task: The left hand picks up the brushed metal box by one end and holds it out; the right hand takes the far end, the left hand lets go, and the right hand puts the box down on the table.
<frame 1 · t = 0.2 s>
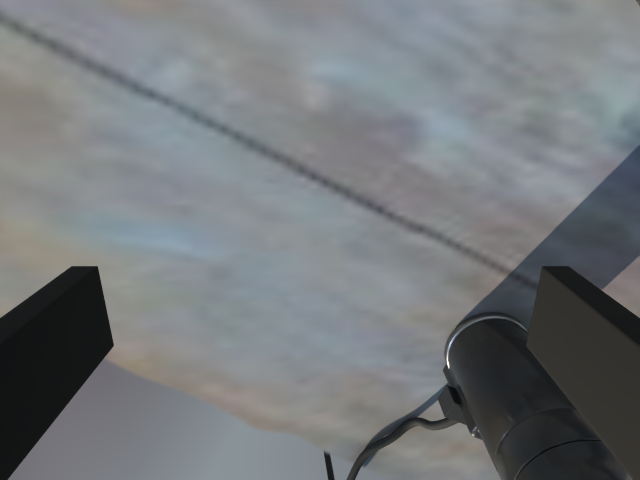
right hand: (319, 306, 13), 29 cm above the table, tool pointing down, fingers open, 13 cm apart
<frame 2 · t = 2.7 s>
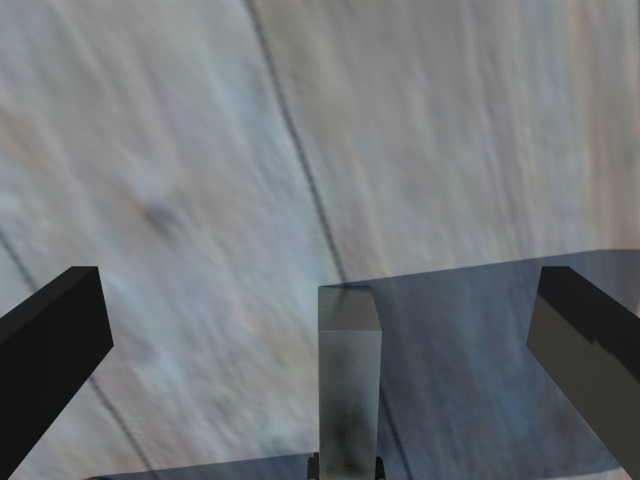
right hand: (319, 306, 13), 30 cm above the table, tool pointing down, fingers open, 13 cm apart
box: (343, 374, 50), on the table, touching left hand
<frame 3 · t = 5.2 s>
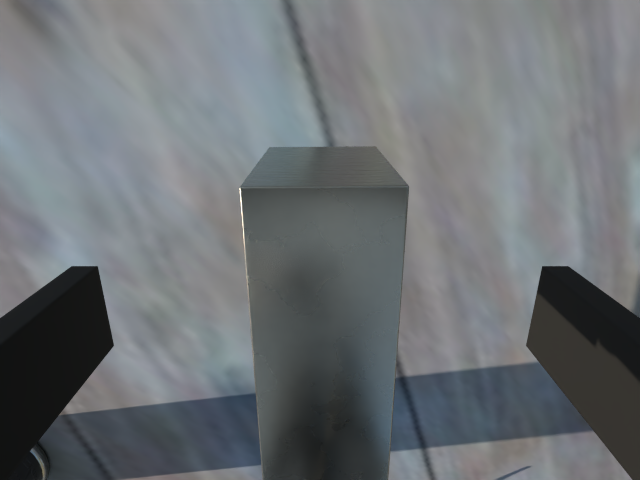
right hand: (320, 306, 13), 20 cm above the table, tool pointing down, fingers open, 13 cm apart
box: (323, 331, 27), point 9 cm above the table, touching left hand
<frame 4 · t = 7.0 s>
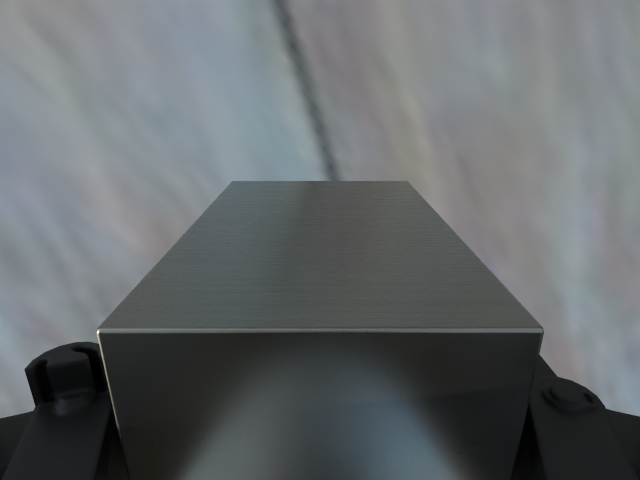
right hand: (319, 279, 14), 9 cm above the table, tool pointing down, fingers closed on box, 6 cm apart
box: (320, 450, 18), point 9 cm above the table, touching right hand, left hand
when the left hand's fingers open (13 cm above the table, at t = 8.0 s): box moves 1 cm, held by the right hand.
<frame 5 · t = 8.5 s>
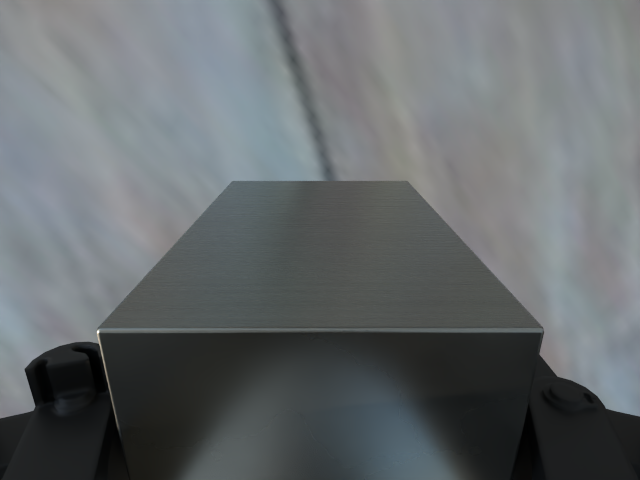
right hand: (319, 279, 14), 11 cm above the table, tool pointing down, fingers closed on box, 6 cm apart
box: (320, 450, 18), point 10 cm above the table, touching right hand
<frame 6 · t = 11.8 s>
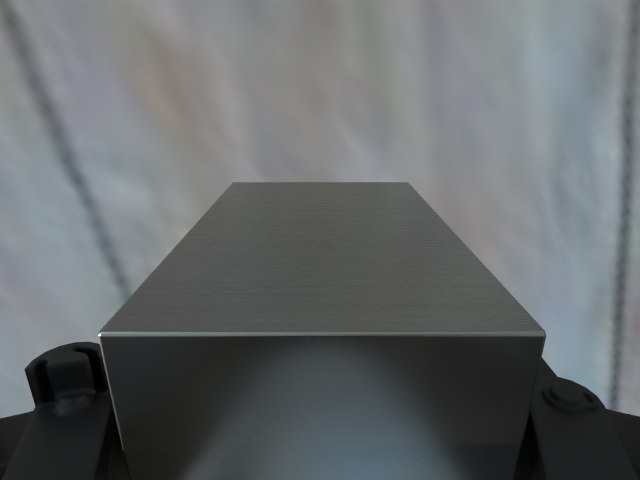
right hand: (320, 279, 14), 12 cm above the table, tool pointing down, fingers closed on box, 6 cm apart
box: (320, 452, 18), point 12 cm above the table, touching right hand
when the right hand's fingers open (2 cm above the table, at t = 16.9 s): box drops 1 cm, on the table.
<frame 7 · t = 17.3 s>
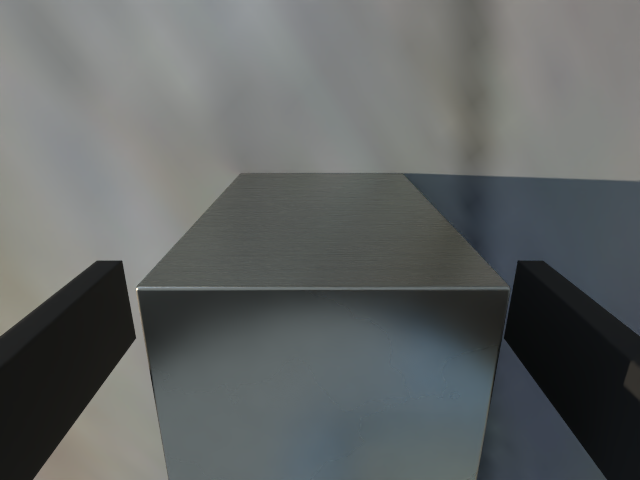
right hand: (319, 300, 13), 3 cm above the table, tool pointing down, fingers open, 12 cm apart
box: (321, 430, 19), on the table
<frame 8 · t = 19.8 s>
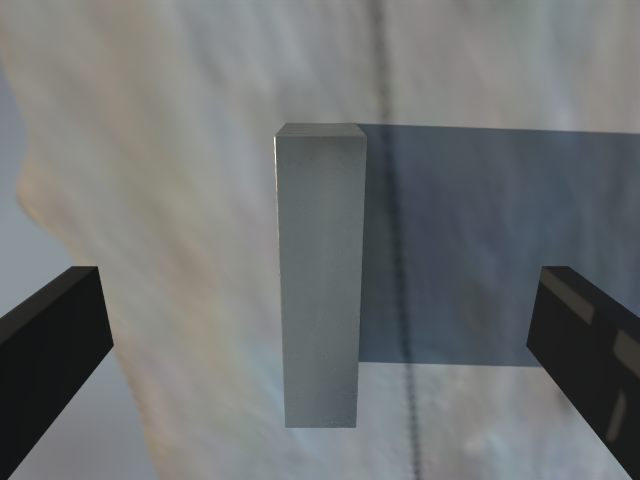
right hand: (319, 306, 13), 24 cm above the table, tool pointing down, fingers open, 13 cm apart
box: (320, 254, 38), on the table
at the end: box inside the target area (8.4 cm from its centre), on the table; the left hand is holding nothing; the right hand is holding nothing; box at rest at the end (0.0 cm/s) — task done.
